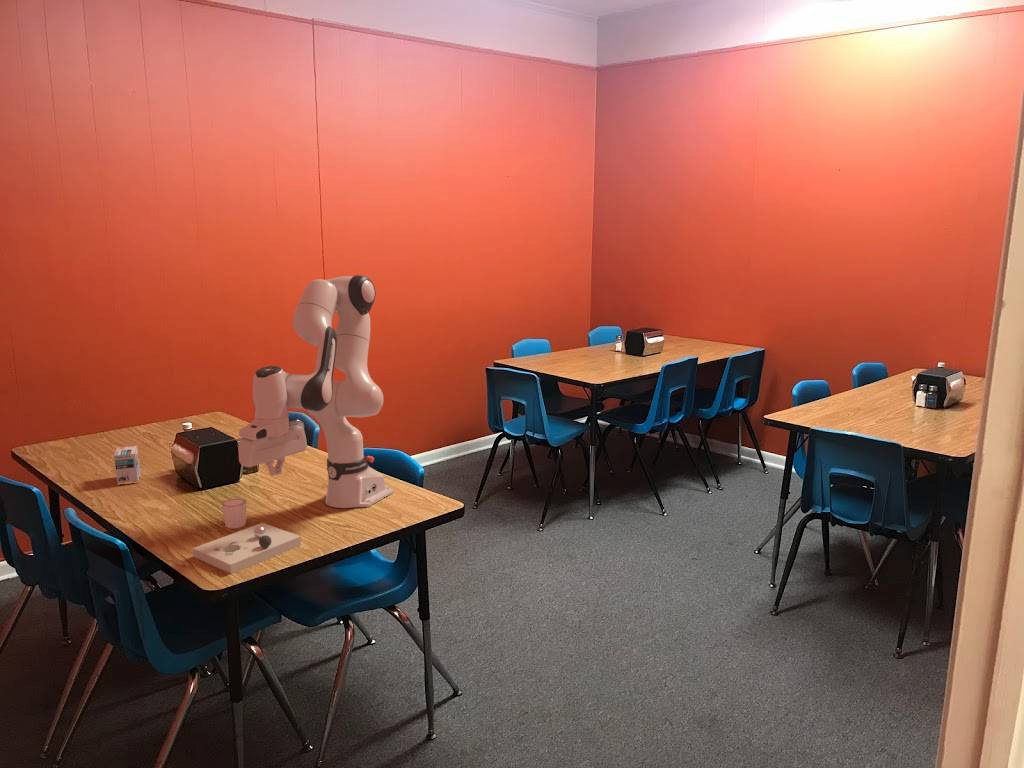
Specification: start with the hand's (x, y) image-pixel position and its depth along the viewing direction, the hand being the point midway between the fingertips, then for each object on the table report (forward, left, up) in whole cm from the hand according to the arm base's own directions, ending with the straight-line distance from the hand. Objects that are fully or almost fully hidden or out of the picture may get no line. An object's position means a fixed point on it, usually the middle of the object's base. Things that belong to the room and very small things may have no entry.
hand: (275, 474), depth 215 cm
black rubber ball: (+10, +6, -15) cm, 19 cm away
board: (+11, 0, -19) cm, 22 cm away
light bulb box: (0, -84, -19) cm, 86 cm away
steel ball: (+7, 0, -15) cm, 16 cm away
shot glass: (+2, -19, -19) cm, 27 cm away
